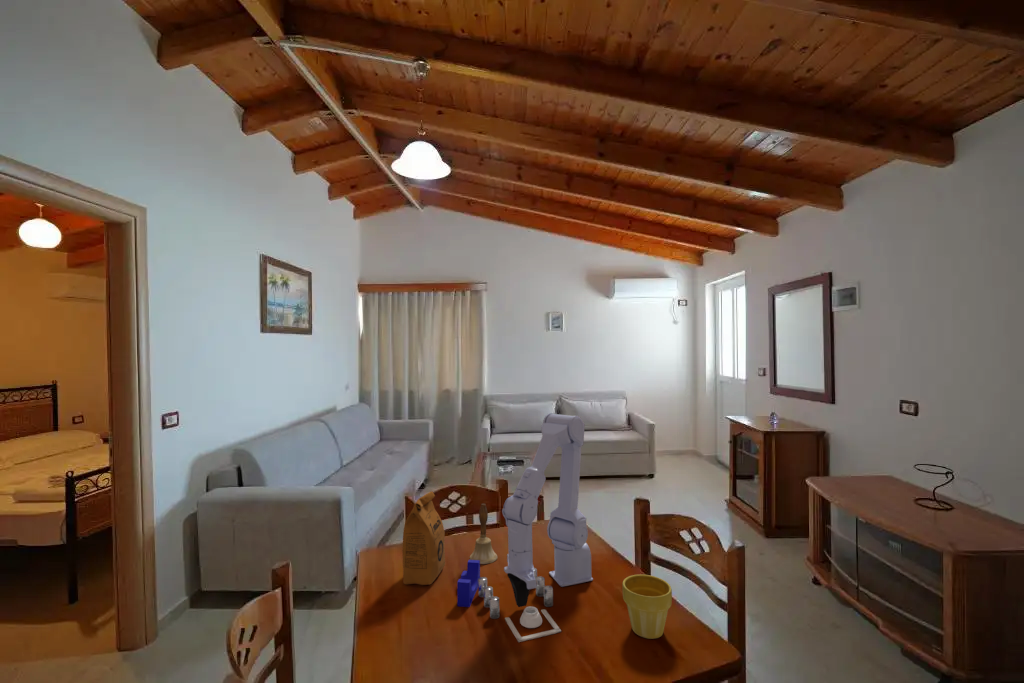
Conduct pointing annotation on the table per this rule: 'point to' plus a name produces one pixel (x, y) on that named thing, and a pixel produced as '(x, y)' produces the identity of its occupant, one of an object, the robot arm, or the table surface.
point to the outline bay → (520, 639)
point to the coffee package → (423, 543)
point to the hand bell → (483, 541)
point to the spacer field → (493, 601)
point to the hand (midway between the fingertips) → (521, 604)
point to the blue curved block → (468, 583)
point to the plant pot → (647, 604)
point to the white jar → (530, 618)
